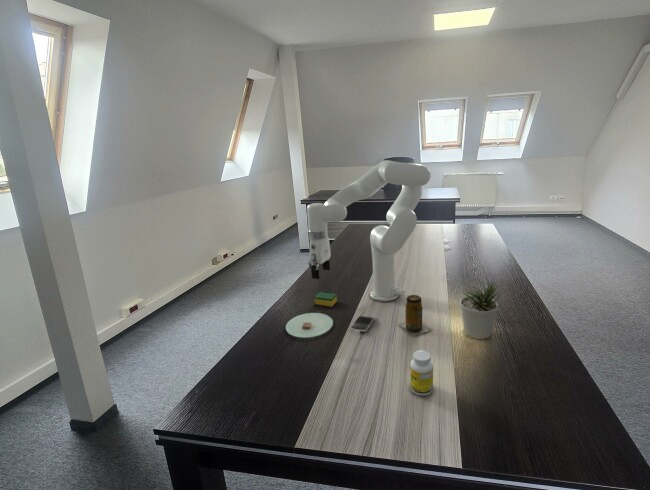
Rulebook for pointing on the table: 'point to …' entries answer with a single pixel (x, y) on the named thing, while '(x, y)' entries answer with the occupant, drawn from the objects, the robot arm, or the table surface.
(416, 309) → the condiment
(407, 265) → the table surface
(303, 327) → the crumb
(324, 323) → the plate
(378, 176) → the robot arm
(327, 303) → the sponge
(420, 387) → the pill bottle
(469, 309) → the potted plant
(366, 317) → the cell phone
